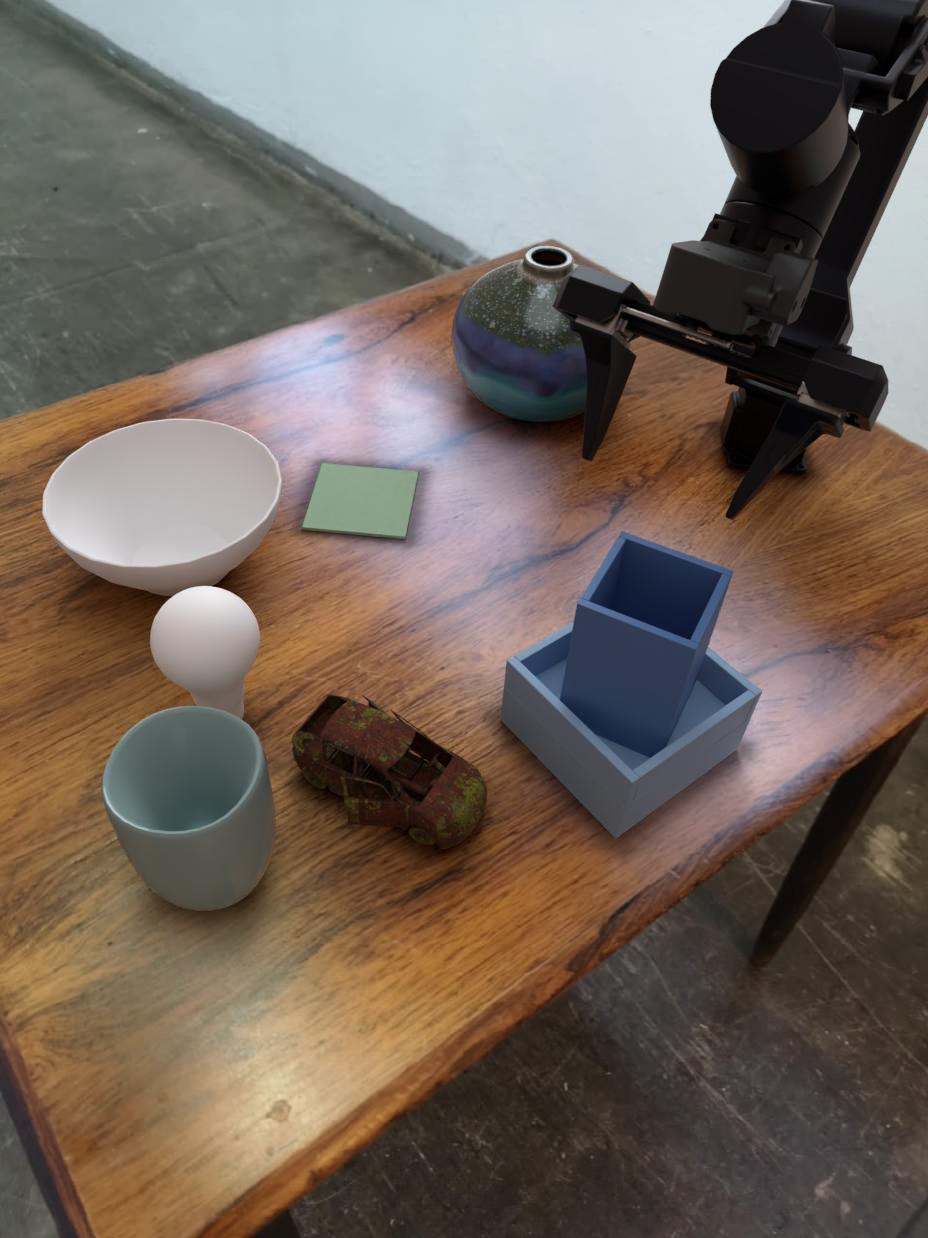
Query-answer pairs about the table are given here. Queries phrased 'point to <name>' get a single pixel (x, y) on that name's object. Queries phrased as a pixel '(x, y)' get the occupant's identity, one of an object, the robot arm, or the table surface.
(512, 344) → the vase
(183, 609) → the lightbulb
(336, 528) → the mat
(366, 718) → the toy car
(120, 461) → the bowl
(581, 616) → the upper bin
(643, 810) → the lower bin
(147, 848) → the cup
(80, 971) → the table surface
